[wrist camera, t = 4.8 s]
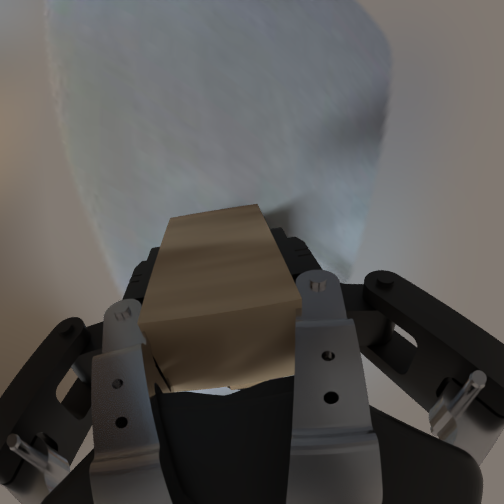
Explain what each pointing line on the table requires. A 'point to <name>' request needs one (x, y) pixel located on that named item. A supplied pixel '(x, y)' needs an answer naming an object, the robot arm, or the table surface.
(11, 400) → the robot arm
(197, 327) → the beech finger
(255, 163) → the table surface
